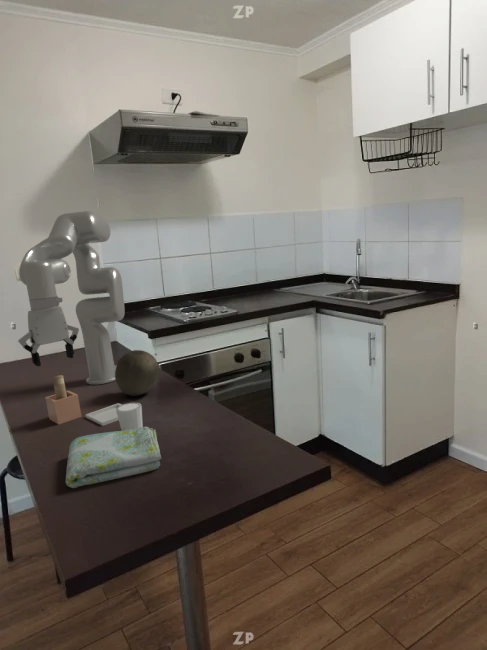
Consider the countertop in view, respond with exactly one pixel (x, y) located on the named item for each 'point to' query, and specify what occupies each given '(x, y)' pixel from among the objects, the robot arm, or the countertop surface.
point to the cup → (63, 408)
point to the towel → (111, 456)
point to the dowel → (59, 387)
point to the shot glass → (130, 416)
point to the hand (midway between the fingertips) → (54, 361)
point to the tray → (104, 415)
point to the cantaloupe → (136, 372)
